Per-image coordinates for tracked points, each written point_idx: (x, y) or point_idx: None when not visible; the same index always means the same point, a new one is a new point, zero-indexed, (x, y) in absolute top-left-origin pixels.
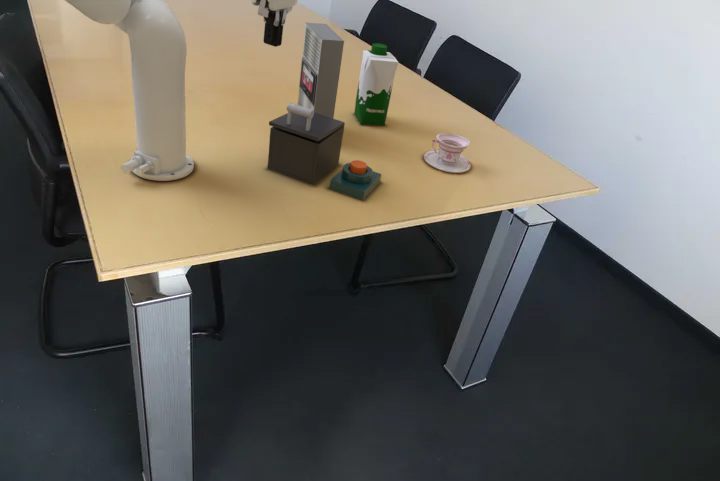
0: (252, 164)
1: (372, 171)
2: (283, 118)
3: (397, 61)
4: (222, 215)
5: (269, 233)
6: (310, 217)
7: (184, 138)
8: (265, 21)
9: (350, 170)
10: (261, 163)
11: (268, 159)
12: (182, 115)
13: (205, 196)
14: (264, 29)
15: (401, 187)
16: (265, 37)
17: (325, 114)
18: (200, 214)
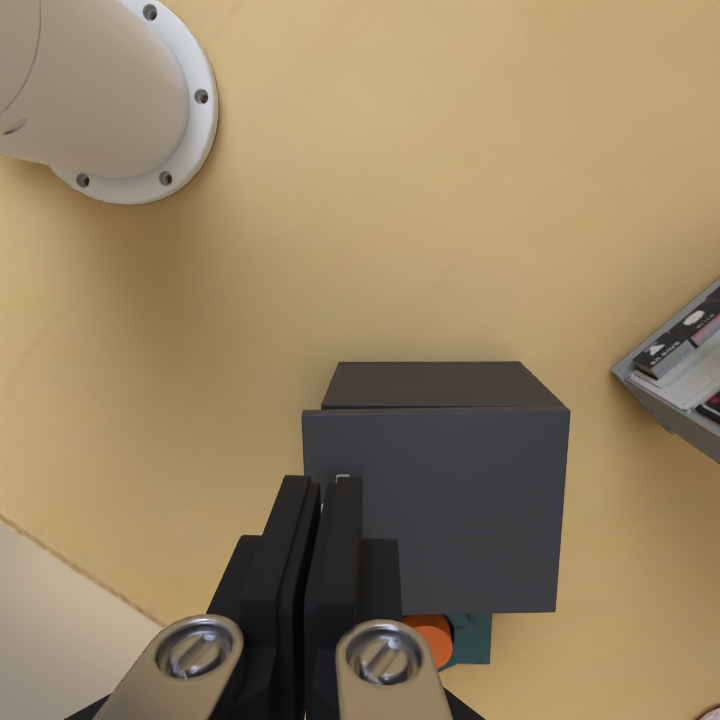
0: (334, 309)
1: (442, 670)
2: (384, 434)
3: None
4: (52, 402)
5: (72, 526)
6: (195, 569)
7: (95, 159)
8: (163, 657)
9: (406, 618)
10: (359, 327)
11: (335, 371)
12: (13, 149)
13: (89, 315)
14: (262, 538)
15: (498, 694)
16: (241, 538)
17: (703, 442)
18: (17, 358)
